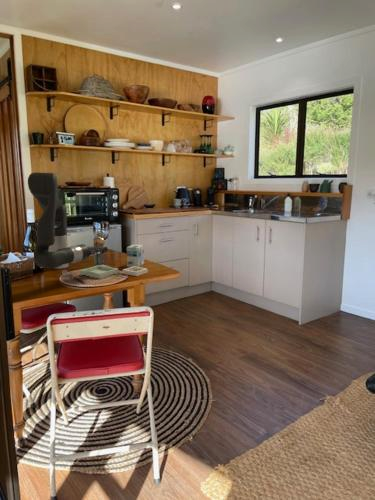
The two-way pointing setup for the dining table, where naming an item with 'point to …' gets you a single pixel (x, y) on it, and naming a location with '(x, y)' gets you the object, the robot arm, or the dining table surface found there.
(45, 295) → the dining table surface
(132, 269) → the checker socket
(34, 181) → the robot arm
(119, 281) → the dining table surface
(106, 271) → the sage tray
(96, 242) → the battery cell
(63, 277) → the dining table surface
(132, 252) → the light bulb box
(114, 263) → the dining table surface
